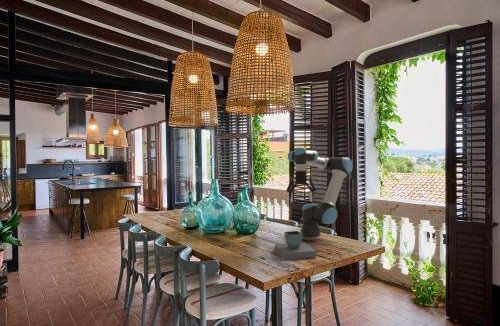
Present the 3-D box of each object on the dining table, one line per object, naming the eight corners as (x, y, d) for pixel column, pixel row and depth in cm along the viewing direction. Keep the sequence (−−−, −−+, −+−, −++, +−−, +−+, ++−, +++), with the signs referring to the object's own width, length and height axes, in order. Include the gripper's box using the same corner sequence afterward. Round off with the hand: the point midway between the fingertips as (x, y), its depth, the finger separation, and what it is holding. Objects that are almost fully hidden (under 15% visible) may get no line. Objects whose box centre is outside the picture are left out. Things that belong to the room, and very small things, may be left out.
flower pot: (289, 249, 201) (289, 234, 201) (284, 246, 210) (283, 231, 209) (303, 248, 203) (302, 233, 203) (297, 245, 212) (297, 230, 212)
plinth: (304, 248, 218) (304, 242, 218) (316, 257, 198) (316, 250, 198) (274, 250, 215) (274, 244, 215) (283, 260, 195) (282, 253, 195)
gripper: (284, 171, 224) (285, 203, 224) (320, 170, 228) (320, 201, 228) (281, 170, 231) (282, 201, 231) (316, 169, 235) (316, 200, 235)
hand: (301, 201), depth 230 cm, fingers open, 13 cm apart
